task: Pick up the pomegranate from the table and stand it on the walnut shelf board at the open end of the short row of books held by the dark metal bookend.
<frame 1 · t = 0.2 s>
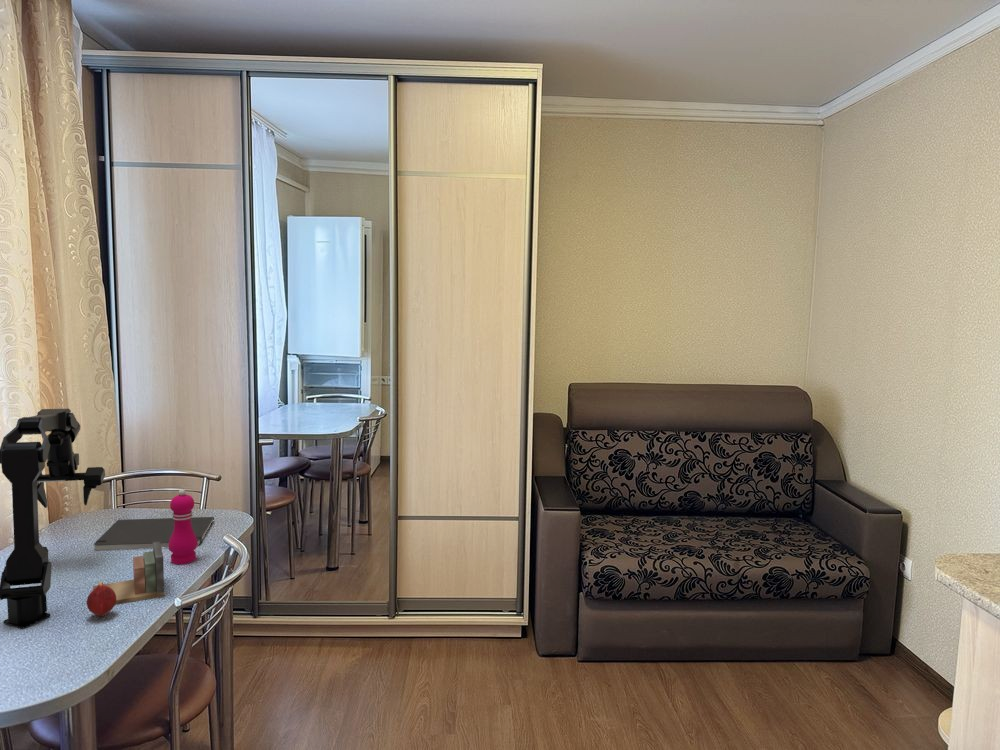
hand: (66, 505, 184), 15 cm above the table, tool pointing down, fingers open, 9 cm apart
notebook: (157, 537, 207), on the table
book shelf: (121, 594, 168), on the table
pomegranate: (102, 616, 157), on the table
pepper mill: (183, 560, 189), on the table
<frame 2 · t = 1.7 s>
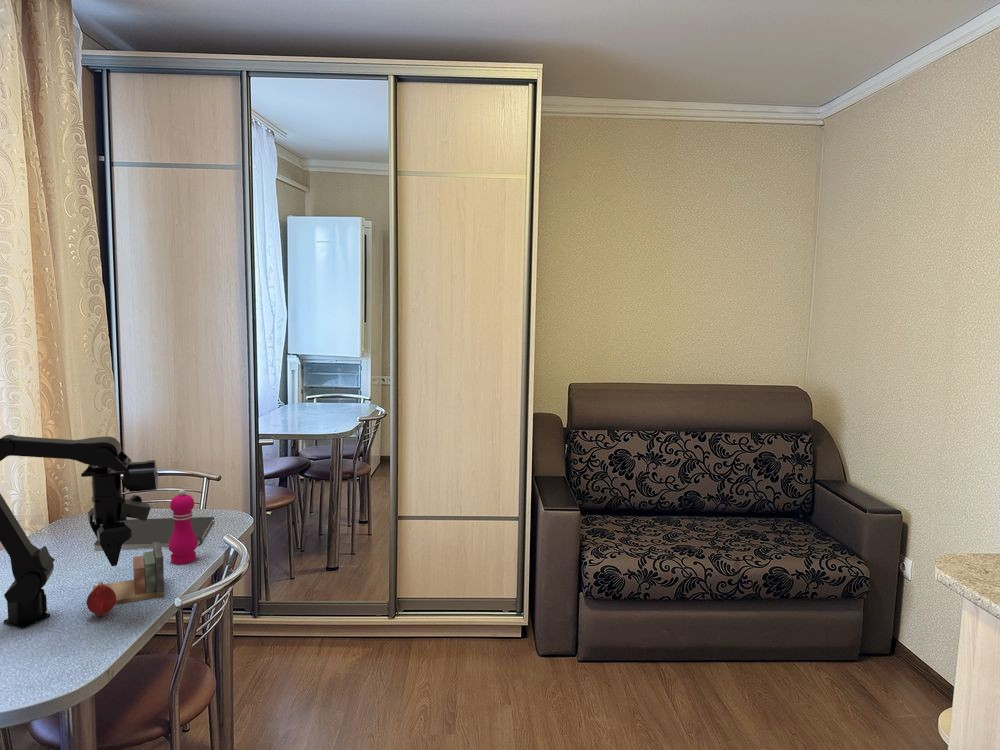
hand: (110, 559, 158), 12 cm above the table, tool pointing down, fingers open, 9 cm apart
nothing on the table moved.
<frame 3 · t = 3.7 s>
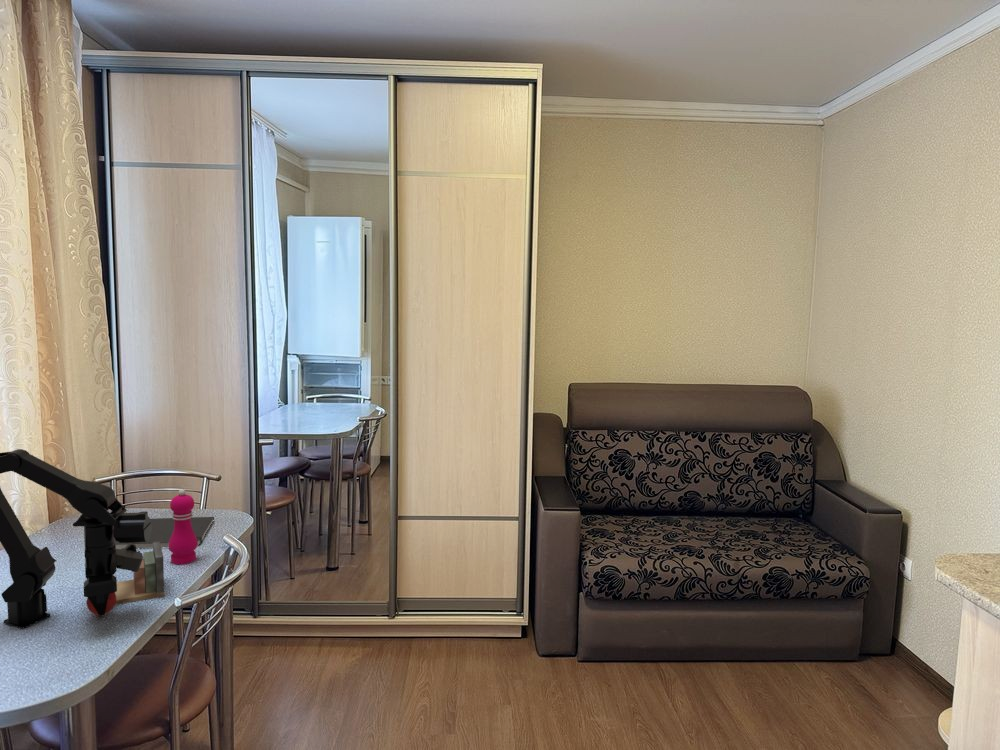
hand: (101, 609, 157), 2 cm above the table, tool pointing down, fingers closed on pomegranate, 6 cm apart
pomegranate: (102, 616, 157), on the table, touching gripper
everything else where it was.
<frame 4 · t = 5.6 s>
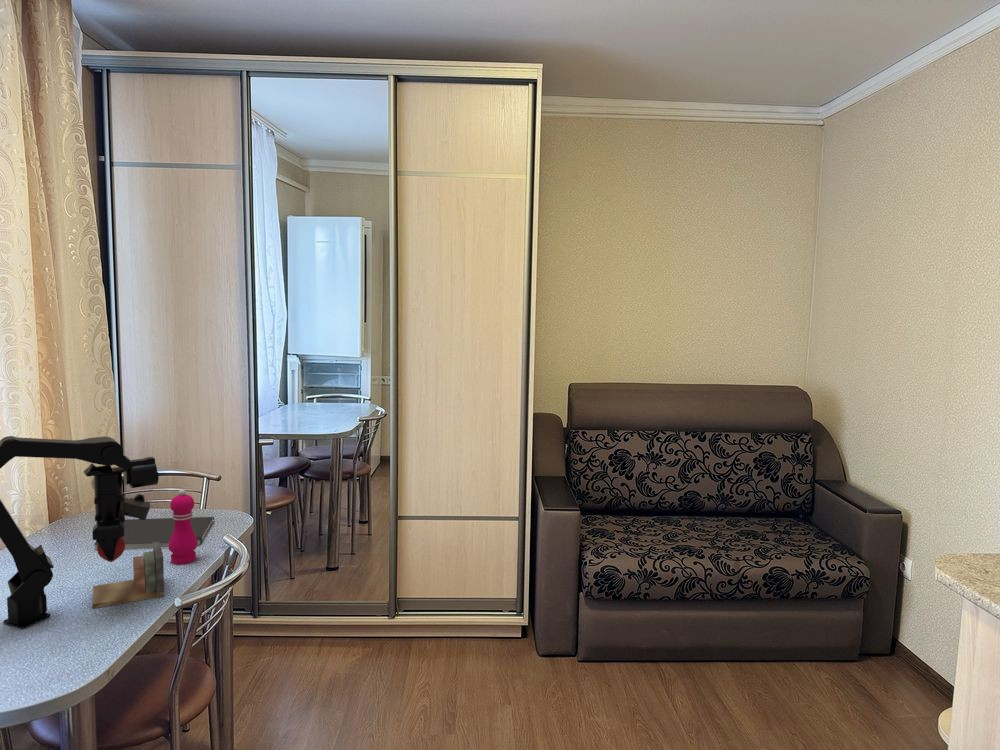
hand: (111, 555, 163), 11 cm above the table, tool pointing down, fingers closed on pomegranate, 6 cm apart
pomegranate: (111, 562, 163), point 9 cm above the table, touching gripper
everything else where it was.
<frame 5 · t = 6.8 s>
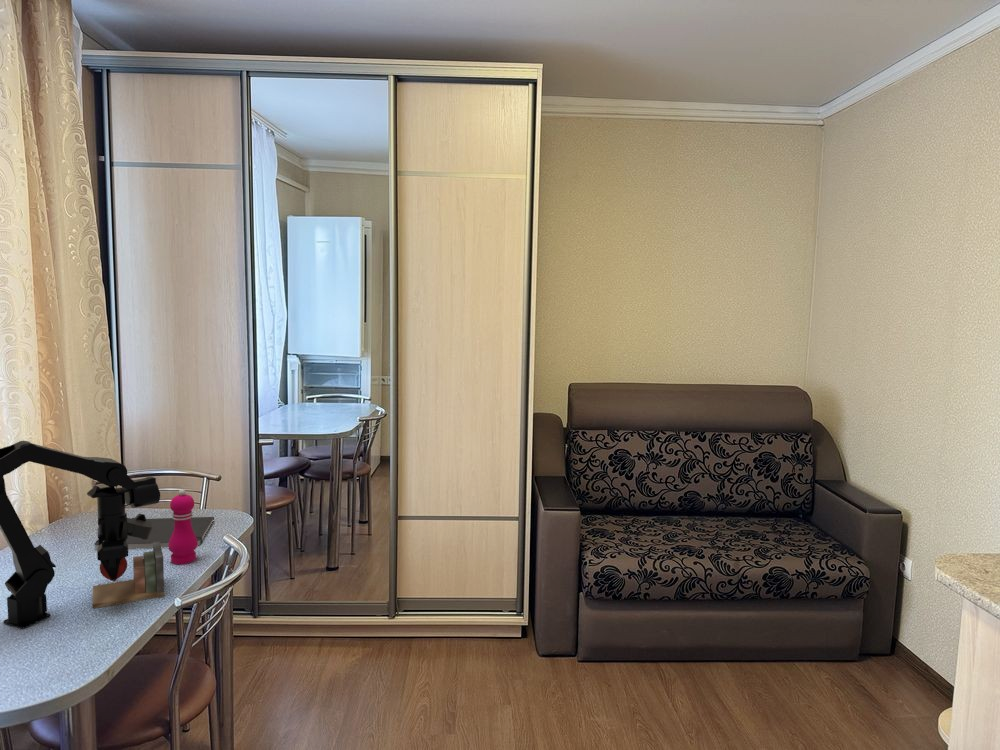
hand: (113, 574, 166), 5 cm above the table, tool pointing down, fingers closed on pomegranate, 6 cm apart
pomegranate: (114, 581, 167), point 4 cm above the table, touching gripper
everything else where it was.
when the fingers open (4 cm above the table, at t = 7.9 s): pomegranate drops 2 cm, resting on book shelf.
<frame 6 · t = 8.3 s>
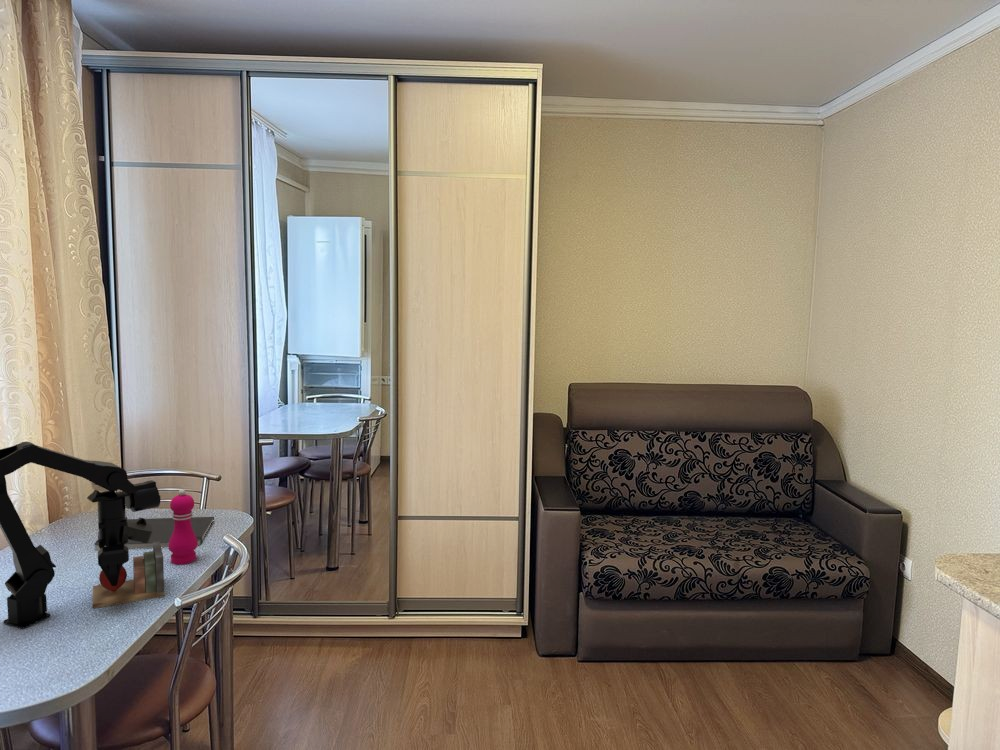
hand: (114, 578, 167), 4 cm above the table, tool pointing down, fingers open, 9 cm apart
pomegranate: (114, 591, 167), point 1 cm above the table, touching book shelf
everything else where it was.
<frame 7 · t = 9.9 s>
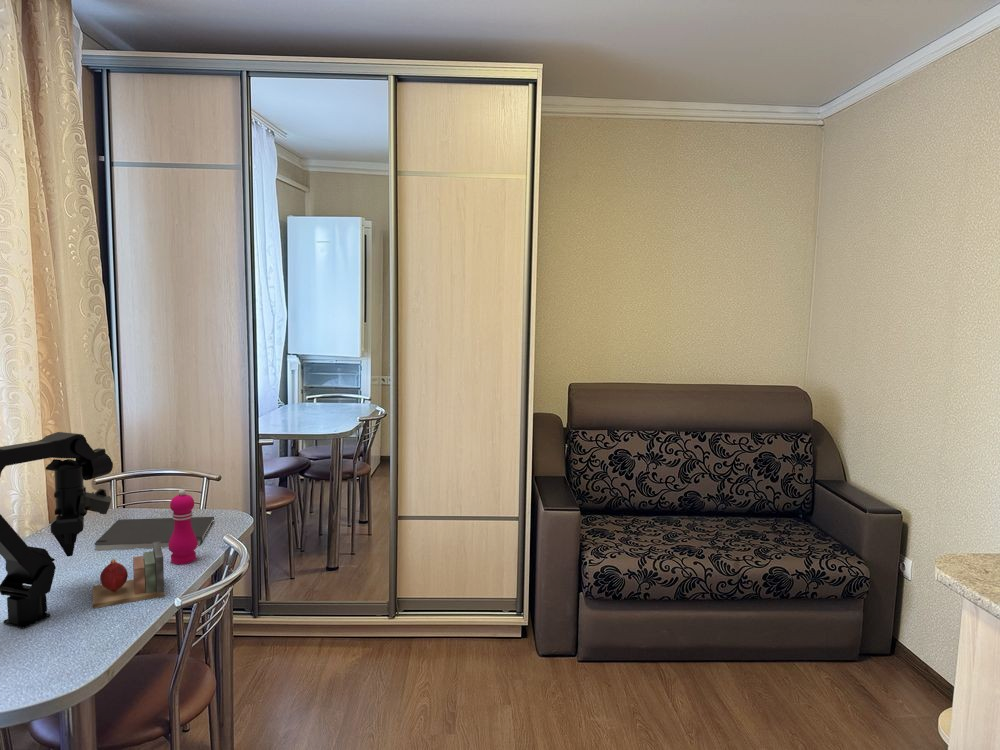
hand: (71, 549, 164), 12 cm above the table, tool pointing down, fingers open, 9 cm apart
nothing on the table moved.
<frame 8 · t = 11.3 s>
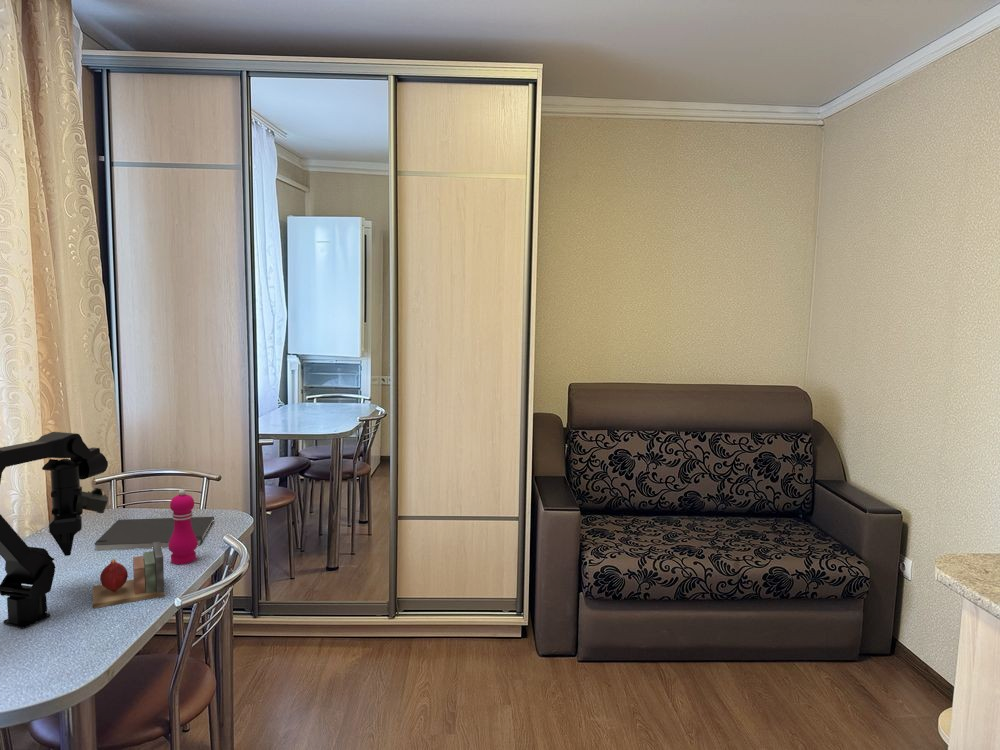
hand: (68, 548, 164), 12 cm above the table, tool pointing down, fingers open, 9 cm apart
nothing on the table moved.
at the end: pomegranate 0.0 cm from the target spot on the book shelf, point 0.8 cm above the book shelf's base; pomegranate touching book shelf; the gripper is holding nothing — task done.
